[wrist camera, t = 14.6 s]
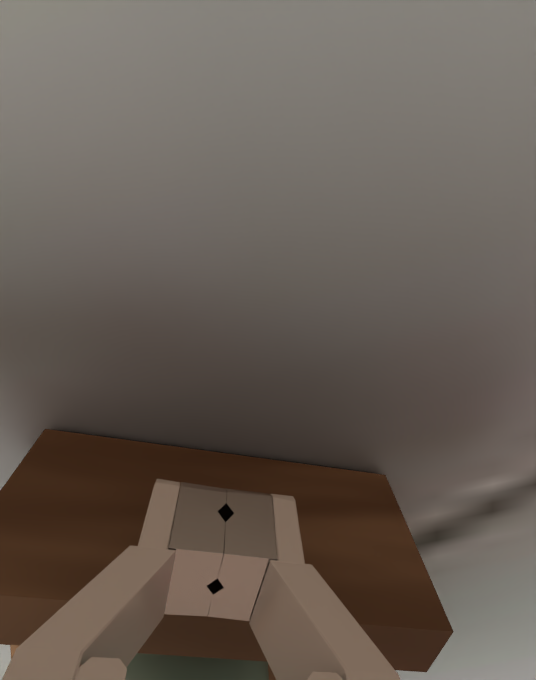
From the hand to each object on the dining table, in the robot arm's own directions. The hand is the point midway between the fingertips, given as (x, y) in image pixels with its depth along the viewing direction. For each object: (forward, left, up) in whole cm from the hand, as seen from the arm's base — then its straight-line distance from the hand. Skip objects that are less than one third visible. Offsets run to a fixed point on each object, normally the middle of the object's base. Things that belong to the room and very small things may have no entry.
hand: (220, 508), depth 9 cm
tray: (+9, 0, -3) cm, 10 cm away
